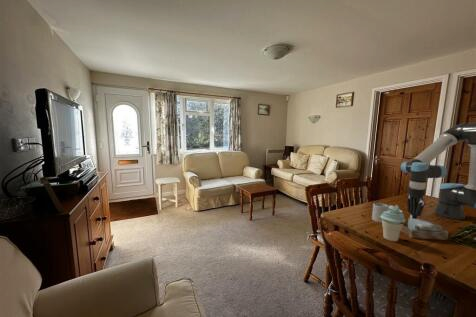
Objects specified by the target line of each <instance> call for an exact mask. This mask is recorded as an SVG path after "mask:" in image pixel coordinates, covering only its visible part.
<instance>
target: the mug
mask: <svg viewBox="0 0 476 317" xmlns="http://www.w3.org/2000/svg"><path fill="white" fill-rule="evenodd" d="M387 208H389V205H388V204H386V203H382V202H373V204H372V212H371V213H372V215H371V220H372V221H374V222H376V223H380V224H382V218H381V217H380V216H381V215H382V213H384V211H385V212H387V210H386V209H387Z"/></svg>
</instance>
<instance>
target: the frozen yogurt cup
mask: <svg viewBox="0 0 476 317" xmlns="http://www.w3.org/2000/svg"><path fill="white" fill-rule="evenodd" d="M388 206H389V207H388V208H387V209H386V210H387V212H385V211H384V213H382V215H381V216H380V217H381V218H382V223H381V225H382V234H383V235H382V236H383V238H384V239H385V240H388V241H391V242H398V241H399V238H400V235H401V234H400V233H401V232H402V231H401V229H402V226H403V225H404V223H405V222H407V219H406V218H405V214H404V213H403V210H401V209H400V207H399V206H398V205H397V204H395V205H391V204H390V205H388Z"/></svg>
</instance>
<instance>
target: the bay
mask: <svg viewBox="0 0 476 317" xmlns="http://www.w3.org/2000/svg"><path fill="white" fill-rule="evenodd" d="M417 219H420V218H419V217H417ZM444 229H445V228H444V227H443V226H442V225H440V224H433V225H427V224H417V225H415V229H409V228H408V226H406V225H405V224H403V226H402V229H401V231H400V232H402V233H403V234H405V235H407V236H408V237H409V238H410V239H413V238H414V239H426V240H445V241H448V239H449V232H448V231H447V230H444Z"/></svg>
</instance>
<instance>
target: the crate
mask: <svg viewBox="0 0 476 317" xmlns="http://www.w3.org/2000/svg"><path fill="white" fill-rule="evenodd" d="M407 221H408V222H407V227H408V228H409V229H415V225H417V224H427V225H434V224H433V223H431V222H430V221H428V220H425V219H424V218H419V219H410V218H408V219H407Z"/></svg>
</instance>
